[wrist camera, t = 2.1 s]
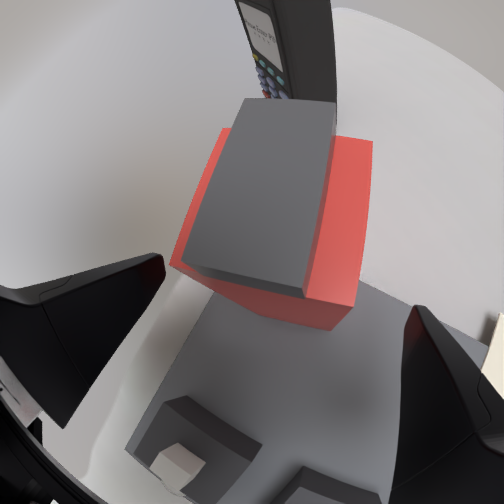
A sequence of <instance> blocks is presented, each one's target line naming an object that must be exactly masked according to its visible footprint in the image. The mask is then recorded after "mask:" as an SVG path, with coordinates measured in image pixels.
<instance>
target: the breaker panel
mask: <svg viewBox="0 0 504 504" xmlns="http://www.w3.org/2000/svg"><path fill="white" fill-rule="evenodd" d="M411 309H412V306H410V305H408V304H406V303H404V302H402V301H400V300H398V299H396V298H394V297H392V296H390V295H388V294H386V293H384V292H382V291H380V290H378V289H376V288H374V287H372V286H370V285H368V284H366V283H364V282H362V281H360V280H359V282H358V287H357V293H356V298H355V303H354V307H353V308H352V309H351V310H350V312H349V313H348V314H347V315H346V316H345V317H344V318H343V319H342V320H341V321H340V322H339V323H338V324H337V325H336V326H335V327H334V328H333V329H332V330H331V331H326V330H321V329H317V328H312V327H308V326H303V325H299V324H294V323H290V322H286V321H281V320H277V319H273V318H269V317H265V316H261V315H258V314H256V313H254V312H252V311H251V310H249V309H247V308H245V307H243V306H241V305H239V304H237V303H236V302H234V301H232V300H230V299H228V298H226V297H224V296H223V295H221V294H219V293H217V292H214V294H213V295H212V297H211V299H210V300H209V302H208V304H207V305H206V307H205V309H204V311H203V312H202V314H201V316H200V317H199V319H198V321H197V323H196V324H195V326H194V328H193V329H192V331H191V333H190V335H189V336H188V338H187V340H186V342H185V343H184V345H183V347H182V348H181V350H180V352H179V354H178V355H177V357H176V359H175V361H174V362H173V364H172V366H171V368H170V369H169V371H168V373H167V375H166V376H165V378H164V380H163V382H162V383H161V385H160V387H159V389H158V390H157V392H156V394H155V396H154V397H153V399H152V401H151V403H150V405H149V406H148V408H147V410H146V412H145V413H144V415H143V417H142V419H141V421H140V422H139V424H138V426H137V428H136V429H135V431H134V433H133V435H132V437H131V438H130V440H129V442H128V444H127V446H126V447H125V450H126V451H127V452H128V453H129V454H130V455H131V456H132V457H134V458H135V459H136V460H137V461H138V462H139V463H140V464H142V465H143V466H144V467H145V468H146V469H147V470H149V471H150V472H151V473H152V474H154V475H155V476H156V477H157V478H159V479H160V480H161V481H162V483H163V485H164V486H165V488H166V489H167V490H168V491H170V492H171V493H173V494H175V495H178V496H183V497H185V498H186V499H188V500H189V501H191V502H192V503H194V504H388V501H389V497H390V492H391V487H392V481H393V475H394V469H395V462H396V454H397V444H398V434H399V420H400V397H401V362H402V351H403V336H404V327H405V324H406V321H407V319H408V317H409V314H410V312H411ZM440 323H441V324H442V325H443V326H444V327H445V328H446V329H447V330H448V332H449V333H450V334H451V335H452V336H453V337H454V338H455V340H456V341H457V342H458V343H459V344H460V345H461V347H462V348H463V349H464V350H465V351H466V353H467V354H468V355H469V356H470V357H471V359H472V360H473V361H474V362H475V364H476V365H477V366H478V367H479V369H480V370H481V371H482V373H483V374H484V375H485V376H486V378H487V379H488V380H489V382H490V383H491V384H492V385H493V387H494V388H495V389H496V391H497V392H498V393H499V394H500V395H501V397H502V398H503V399H504V314H502V313H499V315H498V319H497V323H496V326H495V329H494V333H493V336H492V339H491V342H490V345H489V347H488V346H486V345H485V344H483V343H481V342H479V341H477V340H475V339H473V338H472V337H470V336H468V335H466V334H464V333H462V332H460V331H458V330H456V329H454V328H453V327H451V326H449V325H447V324H445V323H443V322H441V321H440Z"/></svg>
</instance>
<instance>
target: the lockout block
mask: <svg viewBox="0 0 504 504" xmlns="http://www.w3.org/2000/svg"><path fill="white" fill-rule="evenodd" d="M372 147H373V141H368V140H362V139H356V138H350V137H343V136H336V103H332V102H323V101H311V100H296V99H269V98H255V99H254V98H245V99H244V102H243V104H242V106H241V108H240V110H239V113H238V115H237V117H236V119H235V121H234V124H233V126H232V128H223V129H222V131H221V133H220V135H219V138H218V140H217V142H216V144H215V147H214V149H213V151H212V154H211V156H210V158H209V160H208V163H207V165H206V168H205V170H204V172H203V175H202V177H201V180H200V182H199V185H198V187H197V189H196V192H195V195H194V197H193V199H192V202H191V205H190V207H189V210H188V213H187V215H186V218H185V220H184V223H183V226H182V229H181V231H180V234H179V237H178V240H177V243H176V245H175V248H174V251H173V254H172V257H171V260H170V263H169V265H170V266H172V267H173V268H175V269H177V270H178V271H180V272H182V273H183V274H185V275H187V276H189V277H190V278H192V279H194V280H196V281H197V282H199V283H201V284H203V285H205V286H206V287H208V288H210V289H212V290H214V291H215V292H217V293H219V294H221V295H223V296H224V297H226V298H228V299H230V300H232V301H234V302H236V303H237V304H239V305H241V306H243V307H245V308H247V309H249V310H251V311H252V312H254V313H256V314H258V315H261V316H265V317H269V318H273V319H277V320H281V321H286V322H290V323H294V324H299V325H303V326H308V327H312V328H317V329H321V330H326V331H331V330H332V329H333V328H334V327H335V326H336V325H337V324H338V323H339V322H340V321H341V320H342V319H343V318H344V317H345V316H346V315H347V314H348V313H349V312H350V310H351V309H352V308H353V307H354V303H355V298H356V293H357V287H358V282H359V276H360V270H361V264H362V257H363V250H364V243H365V236H366V228H367V219H368V209H369V198H370V186H371V170H372Z"/></svg>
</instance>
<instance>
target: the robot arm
mask: <svg viewBox="0 0 504 504" xmlns="http://www.w3.org/2000/svg"><path fill="white" fill-rule="evenodd" d="M165 276H166V271H165V265H164V259H163V256H162V255H161V254H157V253H149V254H146V255H142V256H138V257H134V258H131V259H127V260H123V261H120V262H116V263H112V264H109V265H105V266H101V267H98V268H94V269H91V270H88V271H84V272H80V273H77V274H74V275H70V276H66V277H63V278H59V279H56V280H52V281H48V282H45V283H40V284H36V285H32V286H28V287H24V288H19V289H11V288H7V287H4V286H1V285H0V504H50V503H51V502H52V501H53V499H54V500H55V501H56V502H57V503H59V504H108V503H107V502H105V501H104V500H103V499H101V498H100V497H98V496H97V495H96V494H95V493H93V492H92V491H91V490H89V489H88V488H87V487H86V486H84V485H83V484H82V483H81V482H80V481H78V480H77V479H76V478H75V477H74V476H73V475H72V474H70V473H69V472H68V471H67V470H66V469H65V468H64V467H63V466H62V465H61V464H60V463H58V462H57V461H56V460H55V459H54V458H53V457H52V456H51V455H50V454H49V453H48V452H47V451H46V449H45V448H44V447H43V445H42V421H41V420H40V419H39V418H38V417H37V416H38V415H39V414H40V413H41V412H42V411H44V412H45V413H46V414H47V415H48V416H49V417H50V418H51V419H52V420H53V421H55V423H56V424H57V425H58V426H60V427H61V428H62V429H64V428H65V426H66V425H67V423H68V421H69V420H70V418H71V417H72V415H73V414H74V412H75V411H76V409H77V407H78V406H79V404H80V403H81V401H82V400H83V398H84V397H85V395H86V394H87V392H88V391H89V388H90V387H91V386H92V384H93V383H94V382H95V380H96V379H97V377H98V376H99V374H100V373H101V371H102V370H103V368H104V367H105V365H106V364H107V363H108V361H109V360H110V358H111V357H112V355H113V354H114V353H115V351H116V350H117V348H118V347H119V345H120V344H121V343H122V341H123V340H124V339H125V337H126V336H127V334H128V333H129V332H130V330H131V329H132V328H133V326H134V325H135V323H136V322H137V321H138V319H139V318H140V317H141V315H142V314H143V313H144V311H145V310H146V309H147V307H148V305H149V304H150V302H151V301H152V299H153V297H154V296H155V294H156V292H157V291H158V289H159V287H160V286H161V284H162V283H163V281H164V279H165ZM388 504H504V399H503V398H502V397H501V395H500V394H499V393H498V392H497V391H496V389H495V388H494V387H493V385H492V384H491V383H490V382H489V380H488V379H487V378H486V376H485V375H484V374H483V373H482V371H481V370H480V369H479V367H478V366H477V365H476V364H475V362H474V361H473V360H472V359H471V357H470V356H469V355H468V354H467V353H466V351H465V350H464V349H463V348H462V347H461V345H460V344H459V343H458V342H457V341H456V340H455V338H454V337H453V336H452V335H451V334H450V333H449V332H448V330H447V329H446V328H445V327H444V326H443V325H442V324H441V323H440V321H439V320H438V319H437V318H436V317H435V316H434V315H433V314H432V313H431V312H430V311H429V309H428V308H427V307H426V306H422V305H414V306H413V307H412V309H411V312H410V314H409V317H408V319H407V321H406V324H405V327H404V336H403V351H402V362H401V397H400V420H399V434H398V444H397V454H396V462H395V469H394V475H393V481H392V487H391V492H390V497H389V501H388Z"/></svg>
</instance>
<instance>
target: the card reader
mask: <svg viewBox="0 0 504 504" xmlns="http://www.w3.org/2000/svg"><path fill="white" fill-rule="evenodd" d="M235 3H236V6H237V9H238V11H239V14H240V17H241V20H242V23H243V26H244V29H245V32H246V35H247V38H248V41H249V44H250V47H251V50H252V53H253V58H254V60H255V63H256V71H257V72H258V73H259V75H258V78H259V80H260V81H261V83H260V85H261V87H262V88H263V90H262V92H263V94H264V95H265V96H266V98H269V99H296V100H311V101H323V102H332V103H336V124H337V80H336V59H335V43H334V31H333V20H332V11H331V3H330V0H235Z"/></svg>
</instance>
